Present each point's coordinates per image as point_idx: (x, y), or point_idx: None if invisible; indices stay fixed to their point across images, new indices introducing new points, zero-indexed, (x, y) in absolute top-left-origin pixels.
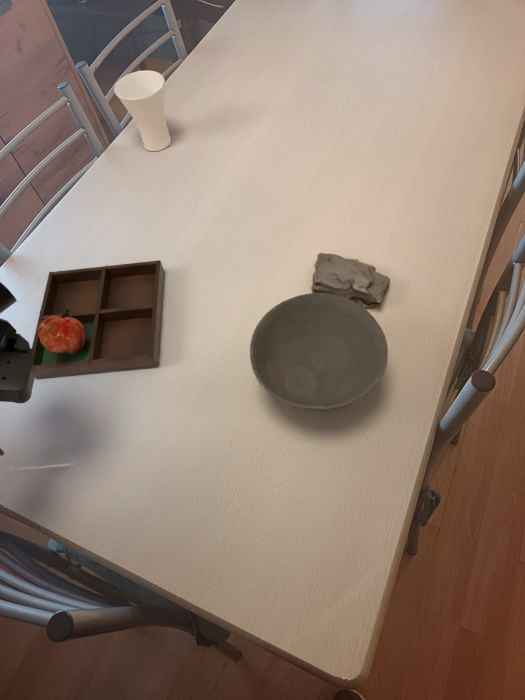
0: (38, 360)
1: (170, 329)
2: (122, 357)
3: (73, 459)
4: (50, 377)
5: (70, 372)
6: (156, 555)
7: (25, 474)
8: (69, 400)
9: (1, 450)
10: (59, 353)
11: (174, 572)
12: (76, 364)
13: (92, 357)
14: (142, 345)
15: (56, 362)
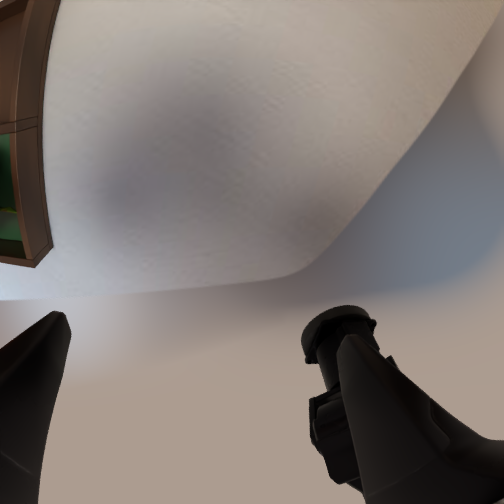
0: (20, 247)
1: None
2: (17, 49)
3: (241, 147)
4: (47, 220)
5: (35, 177)
6: (449, 36)
7: (252, 247)
8: (92, 171)
9: (364, 352)
10: None
11: (467, 26)
12: (16, 159)
13: (5, 123)
14: (10, 37)
15: None
